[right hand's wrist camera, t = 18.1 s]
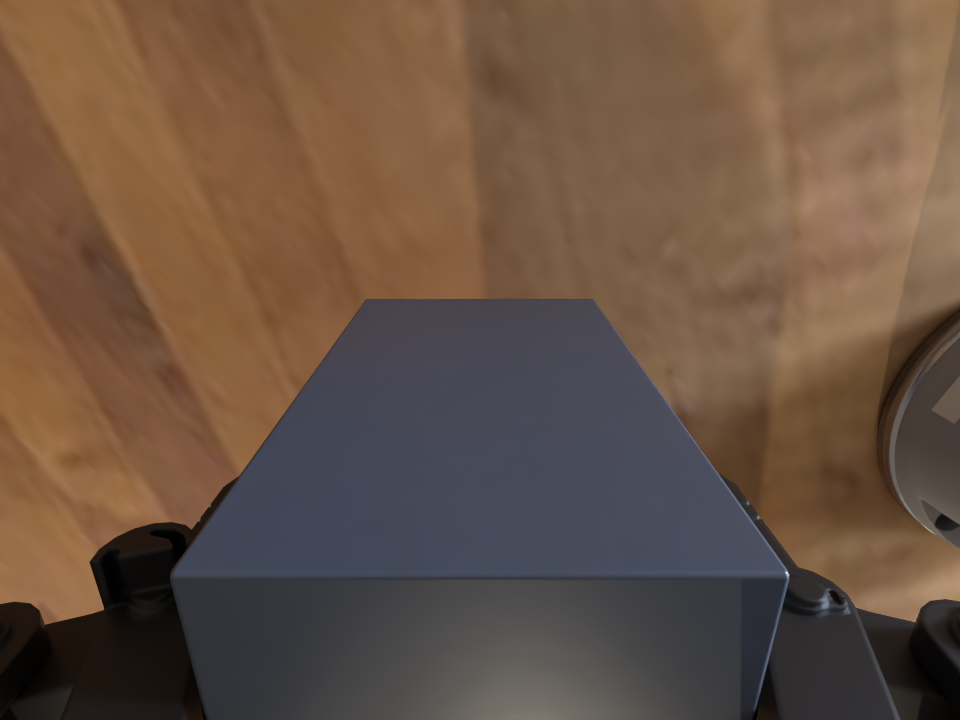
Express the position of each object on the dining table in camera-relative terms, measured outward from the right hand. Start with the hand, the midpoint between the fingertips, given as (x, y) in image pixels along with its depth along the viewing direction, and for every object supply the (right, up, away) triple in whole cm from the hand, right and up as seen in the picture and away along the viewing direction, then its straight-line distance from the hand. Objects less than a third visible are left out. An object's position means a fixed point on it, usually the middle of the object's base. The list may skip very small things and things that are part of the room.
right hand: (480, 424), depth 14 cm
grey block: (0, 0, +1) cm, 1 cm away
